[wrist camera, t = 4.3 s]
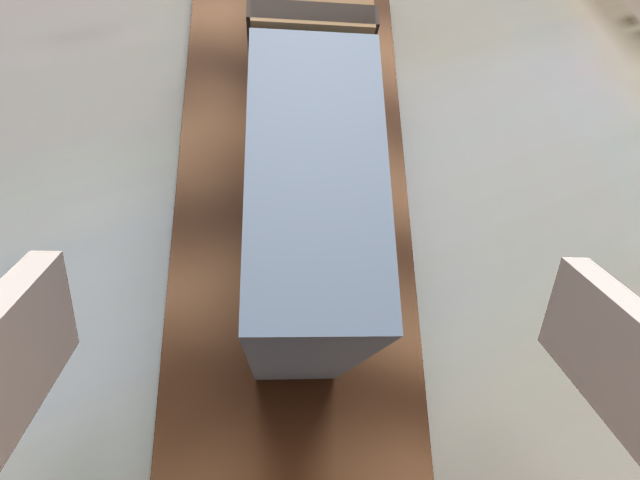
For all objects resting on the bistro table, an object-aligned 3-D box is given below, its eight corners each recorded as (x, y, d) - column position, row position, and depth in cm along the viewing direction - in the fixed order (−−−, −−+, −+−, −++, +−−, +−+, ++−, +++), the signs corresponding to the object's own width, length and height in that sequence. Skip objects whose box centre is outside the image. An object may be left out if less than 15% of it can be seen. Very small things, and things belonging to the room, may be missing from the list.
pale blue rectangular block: (335, 378, 18) (403, 336, 9) (254, 379, 18) (237, 337, 9) (329, 208, 21) (379, 34, 11) (258, 207, 20) (249, 27, 11)
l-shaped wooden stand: (440, 645, 17) (712, 1007, 6) (140, 666, 16) (-105, 1133, 5) (383, -2, 27) (454, -265, 16) (197, -13, 26) (149, -301, 15)
